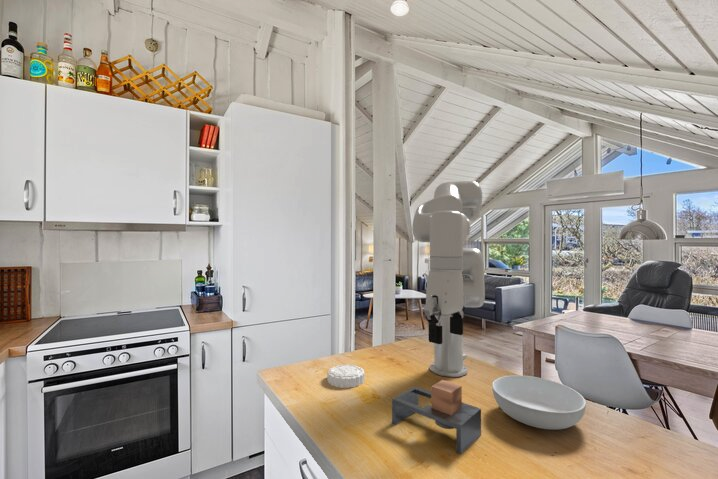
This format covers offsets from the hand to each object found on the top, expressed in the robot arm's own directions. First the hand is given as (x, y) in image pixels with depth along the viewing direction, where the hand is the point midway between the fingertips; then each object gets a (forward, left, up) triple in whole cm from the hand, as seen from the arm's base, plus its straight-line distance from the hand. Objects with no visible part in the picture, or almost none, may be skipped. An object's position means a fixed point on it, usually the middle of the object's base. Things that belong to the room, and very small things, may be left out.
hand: (446, 338), depth 79 cm
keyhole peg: (0, 0, -20) cm, 20 cm away
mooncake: (-6, -39, -23) cm, 45 cm away
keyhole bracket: (0, -3, -22) cm, 22 cm away
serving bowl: (-22, +13, -22) cm, 34 cm away
